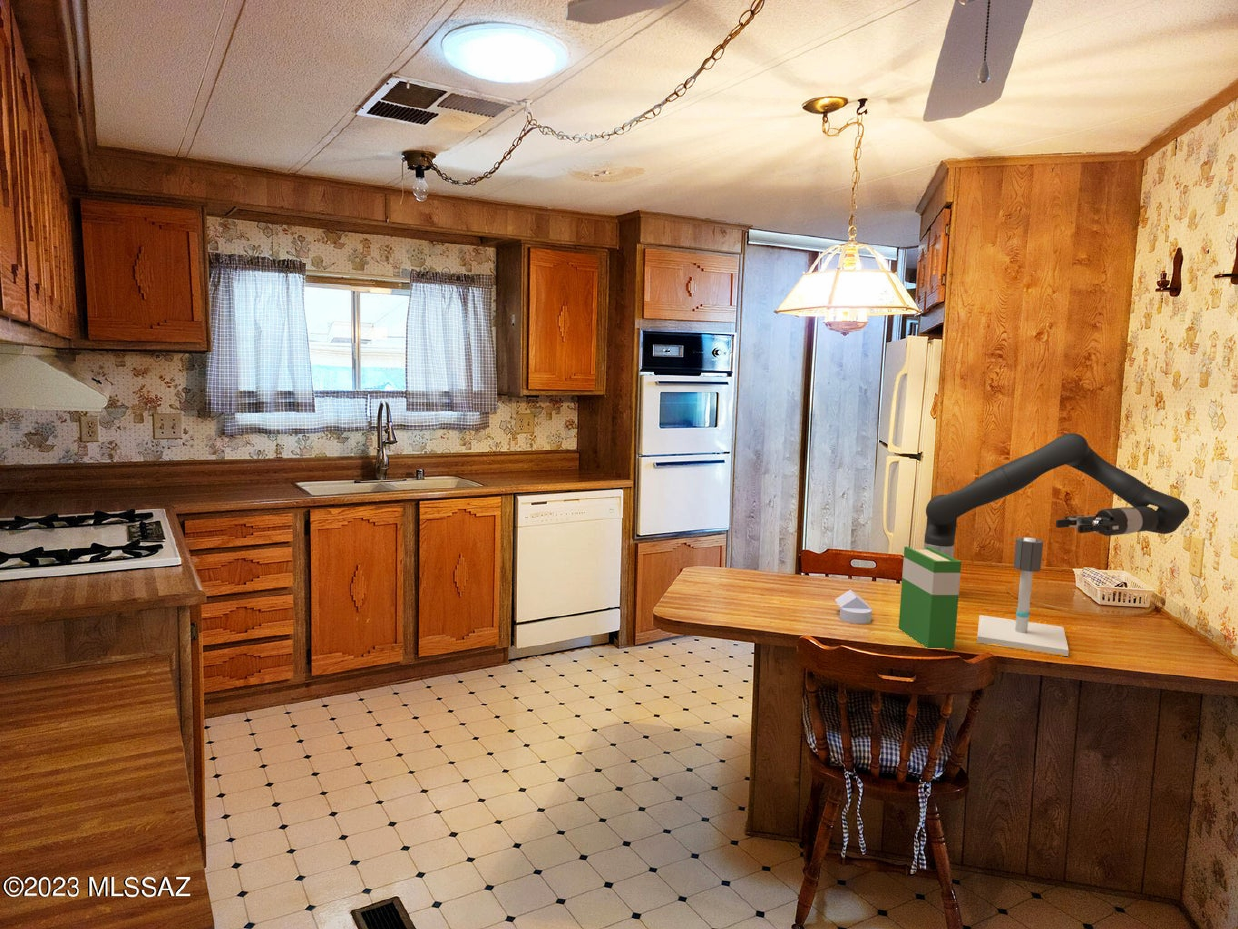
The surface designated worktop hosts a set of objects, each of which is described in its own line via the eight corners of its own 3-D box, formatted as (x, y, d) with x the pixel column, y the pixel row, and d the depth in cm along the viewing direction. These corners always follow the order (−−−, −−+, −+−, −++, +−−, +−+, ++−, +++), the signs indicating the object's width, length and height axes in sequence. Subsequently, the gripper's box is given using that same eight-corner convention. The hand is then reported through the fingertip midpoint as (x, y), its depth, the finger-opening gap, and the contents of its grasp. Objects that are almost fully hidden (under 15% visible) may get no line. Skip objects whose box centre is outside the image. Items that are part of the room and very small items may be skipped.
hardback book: (898, 628, 234) (904, 546, 231) (923, 628, 235) (929, 546, 232) (927, 649, 217) (934, 561, 214) (954, 649, 218) (961, 561, 215)
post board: (976, 643, 223) (985, 541, 220) (978, 621, 243) (986, 527, 239) (1067, 657, 214) (1078, 551, 210) (1062, 633, 234) (1072, 536, 230)
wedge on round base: (834, 610, 250) (842, 623, 238) (835, 588, 250) (844, 600, 237) (864, 611, 250) (874, 624, 237) (865, 590, 249) (875, 602, 236)
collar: (1013, 569, 224) (1016, 541, 223) (1013, 564, 230) (1016, 536, 229) (1041, 572, 222) (1043, 544, 221) (1040, 567, 228) (1042, 539, 227)
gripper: (1099, 504, 236) (1049, 509, 233) (1139, 511, 222) (1086, 517, 219) (1099, 530, 237) (1049, 535, 234) (1138, 538, 223) (1086, 544, 220)
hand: (1067, 526), depth 227 cm, fingers open, 8 cm apart
